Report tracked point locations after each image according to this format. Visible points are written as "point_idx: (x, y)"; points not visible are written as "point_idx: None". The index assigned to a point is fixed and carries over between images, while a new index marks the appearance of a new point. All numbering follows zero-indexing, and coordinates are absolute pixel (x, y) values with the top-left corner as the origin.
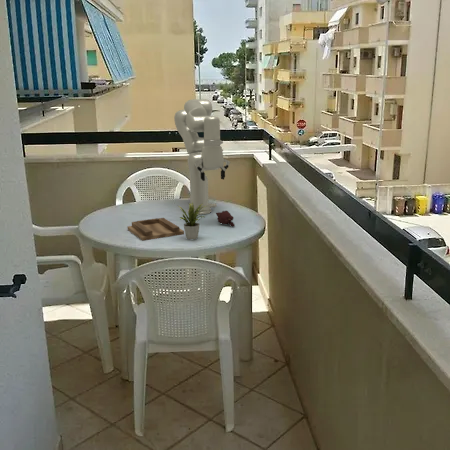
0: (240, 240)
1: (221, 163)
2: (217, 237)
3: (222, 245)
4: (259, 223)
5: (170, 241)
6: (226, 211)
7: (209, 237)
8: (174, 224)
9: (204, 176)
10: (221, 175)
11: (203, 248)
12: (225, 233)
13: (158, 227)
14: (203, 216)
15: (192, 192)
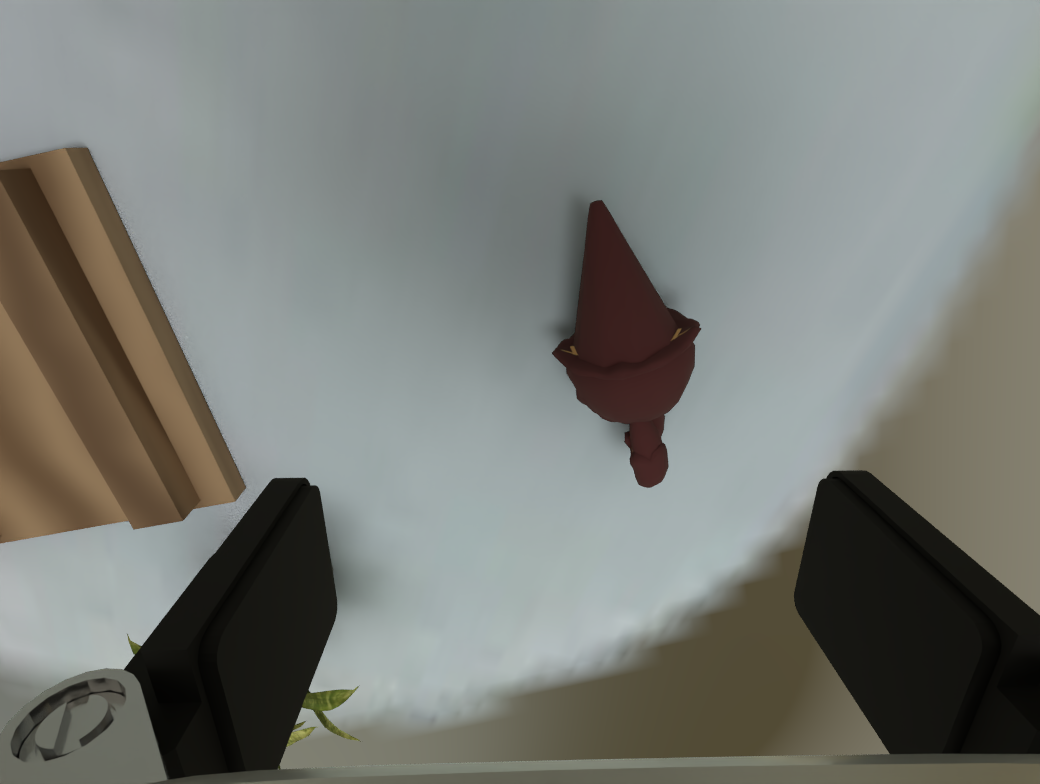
0: (571, 671)
1: None
2: (458, 598)
3: (447, 711)
4: (886, 395)
5: (151, 593)
6: (662, 366)
7: (408, 587)
8: (137, 443)
9: (297, 700)
10: (862, 580)
11: (338, 724)
12: (534, 543)
13: (11, 355)
14: (328, 726)
15: None
